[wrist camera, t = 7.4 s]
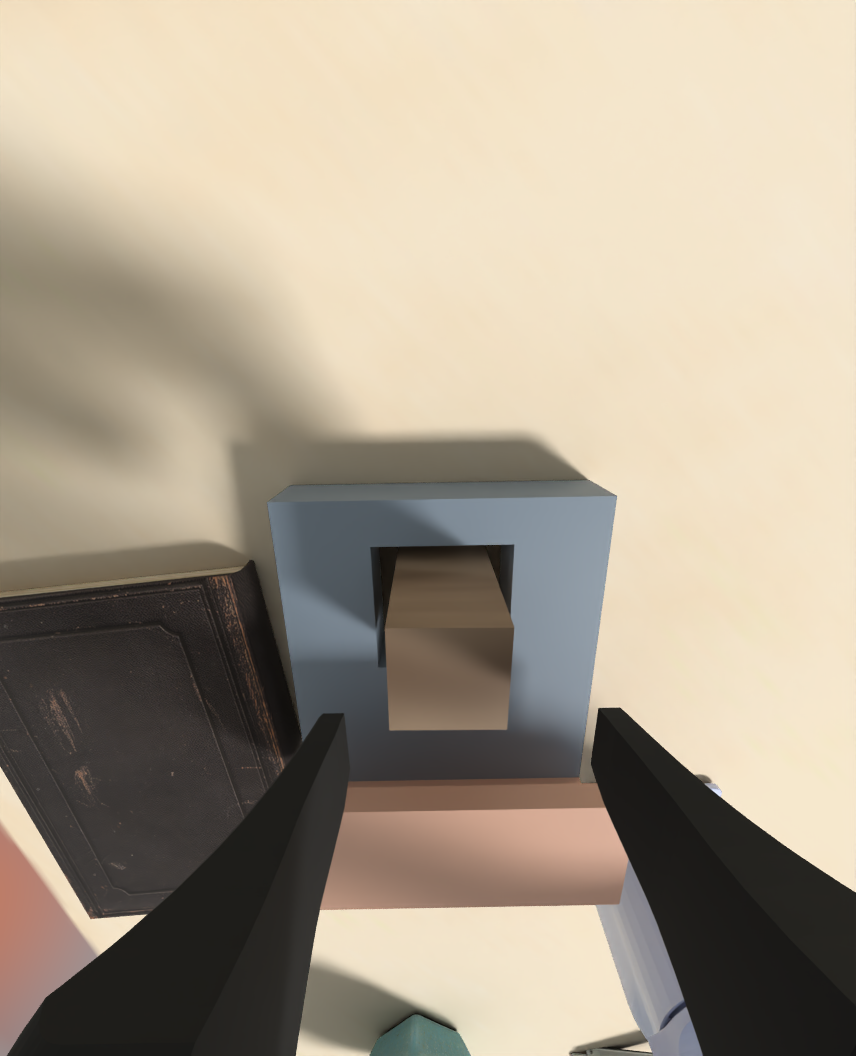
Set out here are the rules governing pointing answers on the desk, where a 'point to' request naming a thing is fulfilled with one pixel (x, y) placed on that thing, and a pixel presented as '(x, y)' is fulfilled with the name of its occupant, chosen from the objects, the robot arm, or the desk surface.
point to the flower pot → (420, 1040)
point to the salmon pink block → (475, 845)
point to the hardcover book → (141, 724)
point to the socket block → (527, 587)
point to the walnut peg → (447, 641)
